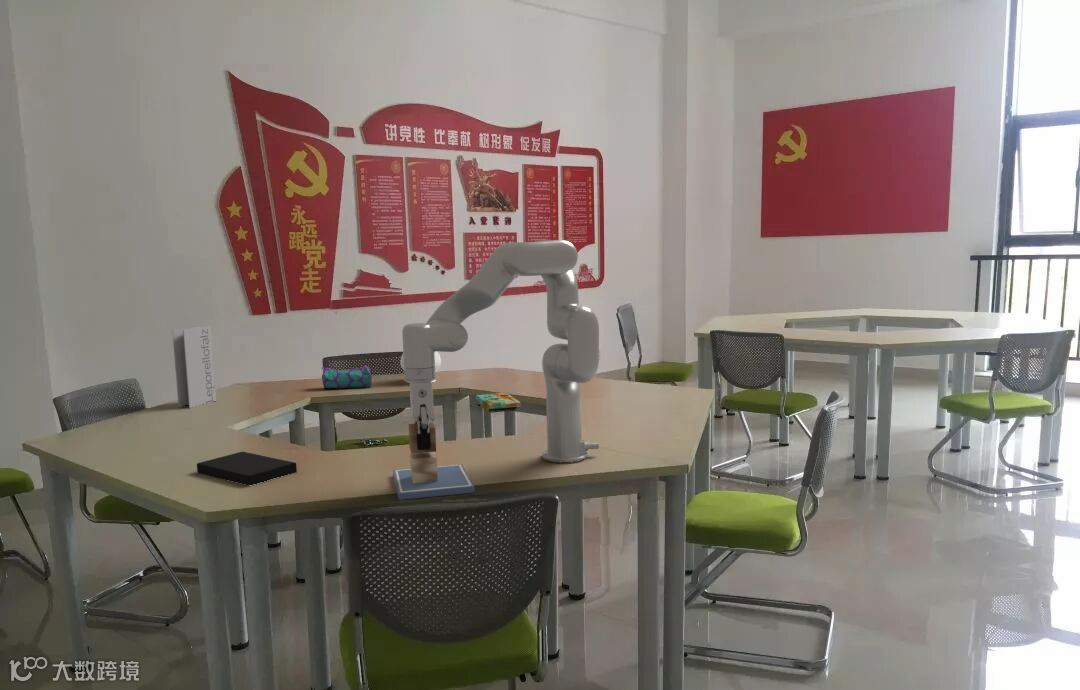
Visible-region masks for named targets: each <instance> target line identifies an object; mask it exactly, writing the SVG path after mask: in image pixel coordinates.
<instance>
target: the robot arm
mask: <svg viewBox="0 0 1080 690" xmlns="http://www.w3.org/2000/svg"><path fill="white" fill-rule="evenodd" d="M578 256H579V254H578V251H577V248H576V246H574V244H573V243H572V242H570V241H568V240H565V239H552V240H551V239H549V240H548V239H546V240H538V241H531V242H530V241H524V242H523V241H521V242H519V241H518V242H516V241H515V242H505V243H502V244H500V245H499V246H498V247H496V249H495V250H494V251H493V252H492V253H491V254H490V256H489V257H487V259H486V260H485V261H484V263H483V264H482V265H481V267H479V269H478V270H477V271H476V273H475V274H474V275H473V276H472V278H471V279H470V280H468V282H467V283H466V284H465V285H463V286H462V287H461V288H459V289H458V290H457V291H455V292H454V293H453V294H451V295H450V296H449V297H448V298H446V299H445V301H443V302H442V303H441V304H440V305H439V307H437V309H436V310H435V311H434V312H433V313H432V314H431V316H430V317H429V318H428V320H426V323H425V322H415V323H413V322H412V323H407V324H404V326H403V327H402V332H401V333H402V350H403V351H402V354H403V357H404V370H403V375H404V376H403V377H404V382H406V383H407V382H409V383H410V384H409V383H408V384H409V400H410V409H411V416H412V419H413V421H414V424H417V428H418V434H417V449H418V450H427V449H431V441H430V432H429V423H430V421H431V422H434V421H435V419H436V417H435V402H434V391H433V383H432V381H433V380H435V379H436V373H435V353H434V352H436V351H437V352H442V353H443V352H444V353H453V352H454V353H455V352H457V351H458V352H459V350H461V349H463V348H464V347H465V346H466V345H467V342H468V340H469V337H468V335H469V334H468V332H467V329H466V327H464V326H463V324H462V323H463V322H464V321H465V320H467V319H468V318H469V317H470V316H472V315H474V314H475V313H479V312H481V311H483V310H485V309H488V308H490V307H491V306H493V305H495V304H496V302H497V301H498V300H499V299H500V297H501V296H502V295H503V293H504V292H505V291H507V289H508V287H509V286H510V285H511V284H512V282H513V281H514V280H515V279H516V278H517V277H534V276H536V277H537V276H540V277H541V278H542V279H543V281H544V284H545V290H546V317H547V318H546V326H547V327H546V328H547V331H548V333H549V334H550V335H551V336H553V338H556V339H559V340H563V341H564V340H565V341H567V343H554V344H552V345H550V346H549V347H548V348H546V350H545V351H544V353H543V356H542V361H541V367H542V371H543V372H542V373H543V377H544V383H545V396H546V397H545V398H546V399H545V400H546V403H545V404H546V440H547V441H546V443H547V444H546V447H547V449H546V450H544V451H542V453H541V458H542V459H543V460H544V461H546V460H547V462H550V461H551V463H557V462H560V463H559V464H562V463H561V462H571V463H574V462H573V461H578V460H582V459H584V460H586V459H587V458H588V450H599V449H600V448H599V446H600V445H599V442H598V441H595V442H594V441H593V442H592V441H585V440H584V439H583V438H582V395H581V393H582V392H581V386H580V384H584V383H588V382H590V381H591V380H593V378H594V377H595V376H596V374H597V372H598V369H599V360H600V354H599V353H600V326H599V325H600V324H599V320H598V317H597V315H596V314H595V312H594V311H593V309H591V308H589V307H588V306H584V305H580V302H579V285H578V279H577V277H576V274H575V272H574V271H573V268H575V267H576V265H577V262H578V259H579V257H578ZM420 424H421V425H420ZM586 457H587V458H586ZM585 458H586V459H585ZM582 461H583V460H582ZM578 462H579V461H578Z"/></svg>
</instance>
